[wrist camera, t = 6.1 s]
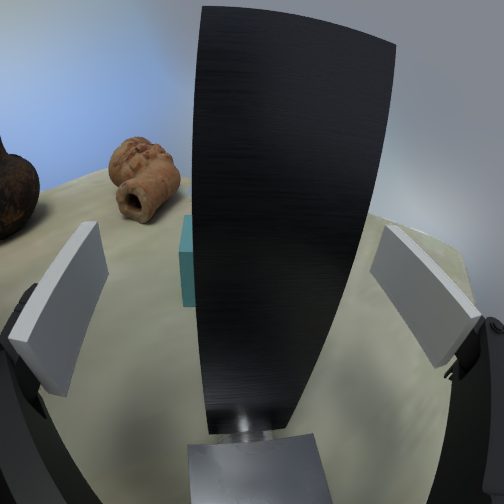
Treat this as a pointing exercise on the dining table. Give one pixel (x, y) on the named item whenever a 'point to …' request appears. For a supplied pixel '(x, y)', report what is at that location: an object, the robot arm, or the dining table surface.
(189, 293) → the socket block
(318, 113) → the dark lever handle
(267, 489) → the outer sleeve
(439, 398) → the dining table surface
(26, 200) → the glass bottle
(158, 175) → the clay pipe
